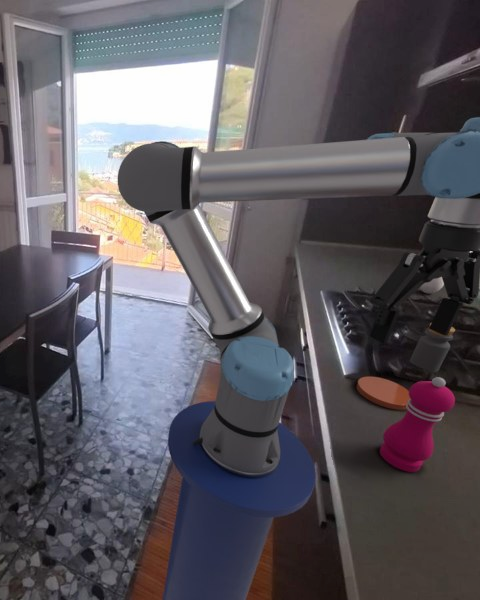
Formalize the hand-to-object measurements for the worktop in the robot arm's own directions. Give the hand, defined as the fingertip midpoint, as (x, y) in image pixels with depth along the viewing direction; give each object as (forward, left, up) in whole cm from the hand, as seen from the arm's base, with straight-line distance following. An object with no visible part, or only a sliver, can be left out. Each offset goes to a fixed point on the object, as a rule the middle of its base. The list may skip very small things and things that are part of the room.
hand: (408, 335), depth 67 cm
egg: (+56, +95, -25) cm, 113 cm away
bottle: (+23, +29, -25) cm, 44 cm away
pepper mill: (+4, -5, -25) cm, 26 cm away
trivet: (+10, +17, -25) cm, 32 cm away
